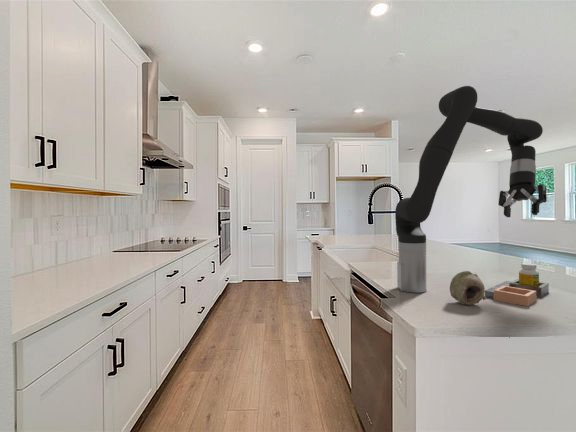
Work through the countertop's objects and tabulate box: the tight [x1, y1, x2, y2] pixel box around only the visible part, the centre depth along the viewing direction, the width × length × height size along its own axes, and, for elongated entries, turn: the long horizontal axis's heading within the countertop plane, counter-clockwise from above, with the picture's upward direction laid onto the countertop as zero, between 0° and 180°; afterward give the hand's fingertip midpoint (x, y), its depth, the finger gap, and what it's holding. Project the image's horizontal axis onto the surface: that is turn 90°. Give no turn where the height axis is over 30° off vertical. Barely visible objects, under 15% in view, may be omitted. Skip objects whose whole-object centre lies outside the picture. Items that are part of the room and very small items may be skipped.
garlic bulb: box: [449, 270, 487, 307], centre depth 90 cm, size 9×8×10 cm
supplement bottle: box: [518, 262, 540, 287], centre depth 101 cm, size 5×5×10 cm
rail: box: [484, 278, 550, 299], centre depth 98 cm, size 21×12×3 cm, turn 127°
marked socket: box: [493, 286, 537, 307], centre depth 92 cm, size 9×9×3 cm
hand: (520, 215), depth 106 cm, fingers open, 8 cm apart
